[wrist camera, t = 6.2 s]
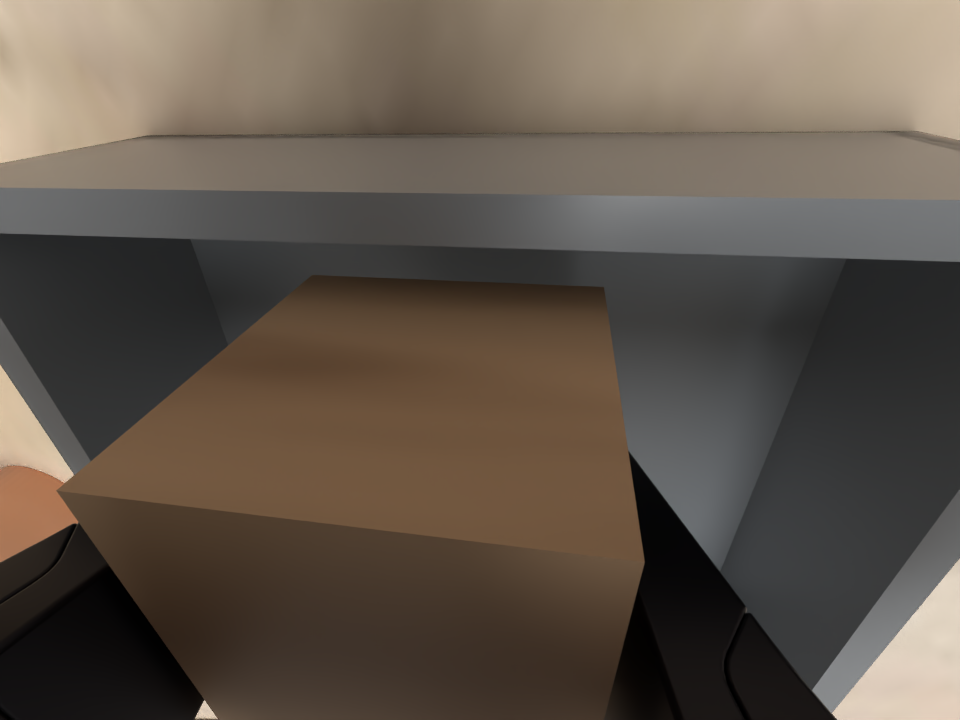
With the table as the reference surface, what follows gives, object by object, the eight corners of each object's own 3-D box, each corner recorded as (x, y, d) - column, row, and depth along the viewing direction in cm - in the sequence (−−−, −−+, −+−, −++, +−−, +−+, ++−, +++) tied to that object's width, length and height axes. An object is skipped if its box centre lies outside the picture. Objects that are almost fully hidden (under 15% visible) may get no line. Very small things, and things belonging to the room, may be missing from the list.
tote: (725, 586, 18) (780, 775, 13) (290, 532, 20) (207, 674, 16) (918, 131, 10) (1251, 203, 5) (147, 135, 12) (-119, 186, 7)
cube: (577, 501, 10) (581, 803, 6) (357, 477, 11) (228, 733, 7) (604, 287, 8) (644, 563, 3) (312, 274, 8) (56, 490, 4)
